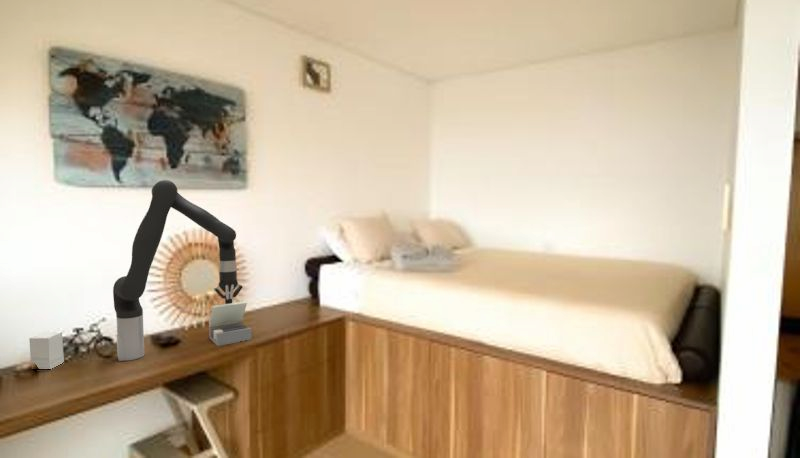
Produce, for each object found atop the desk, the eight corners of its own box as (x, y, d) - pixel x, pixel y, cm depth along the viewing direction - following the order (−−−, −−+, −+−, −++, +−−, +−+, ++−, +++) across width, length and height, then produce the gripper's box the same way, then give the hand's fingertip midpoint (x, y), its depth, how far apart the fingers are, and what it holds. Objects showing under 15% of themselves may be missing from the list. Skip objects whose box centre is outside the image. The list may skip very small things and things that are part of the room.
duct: (217, 346, 194) (217, 334, 194) (209, 338, 205) (209, 326, 204) (251, 339, 203) (251, 328, 203) (242, 332, 214) (241, 321, 214)
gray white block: (247, 335, 207) (247, 327, 206) (216, 341, 198) (215, 332, 198) (244, 333, 210) (244, 325, 210) (213, 339, 201) (213, 330, 201)
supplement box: (64, 363, 173) (63, 331, 173) (49, 370, 166) (48, 338, 165) (46, 363, 173) (44, 331, 173) (30, 370, 166) (28, 337, 165)
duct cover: (213, 307, 197) (213, 305, 198) (209, 326, 204) (208, 324, 205) (247, 302, 206) (246, 301, 207) (241, 321, 214) (241, 319, 214)
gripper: (215, 272, 196) (216, 310, 197) (245, 269, 204) (245, 306, 206) (210, 270, 202) (211, 307, 203) (239, 267, 210) (240, 302, 211)
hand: (228, 306), depth 204 cm, fingers closed
